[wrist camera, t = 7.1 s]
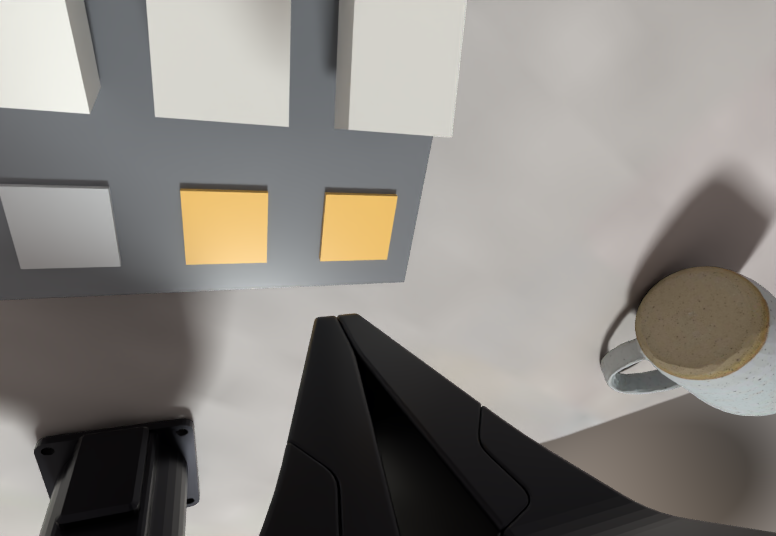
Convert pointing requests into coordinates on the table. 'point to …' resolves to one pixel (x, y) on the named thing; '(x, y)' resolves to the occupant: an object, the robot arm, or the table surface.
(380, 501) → the robot arm
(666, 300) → the ceramic mug
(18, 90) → the rocker
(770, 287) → the table surface
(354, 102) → the rocker
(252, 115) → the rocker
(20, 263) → the switch unit
